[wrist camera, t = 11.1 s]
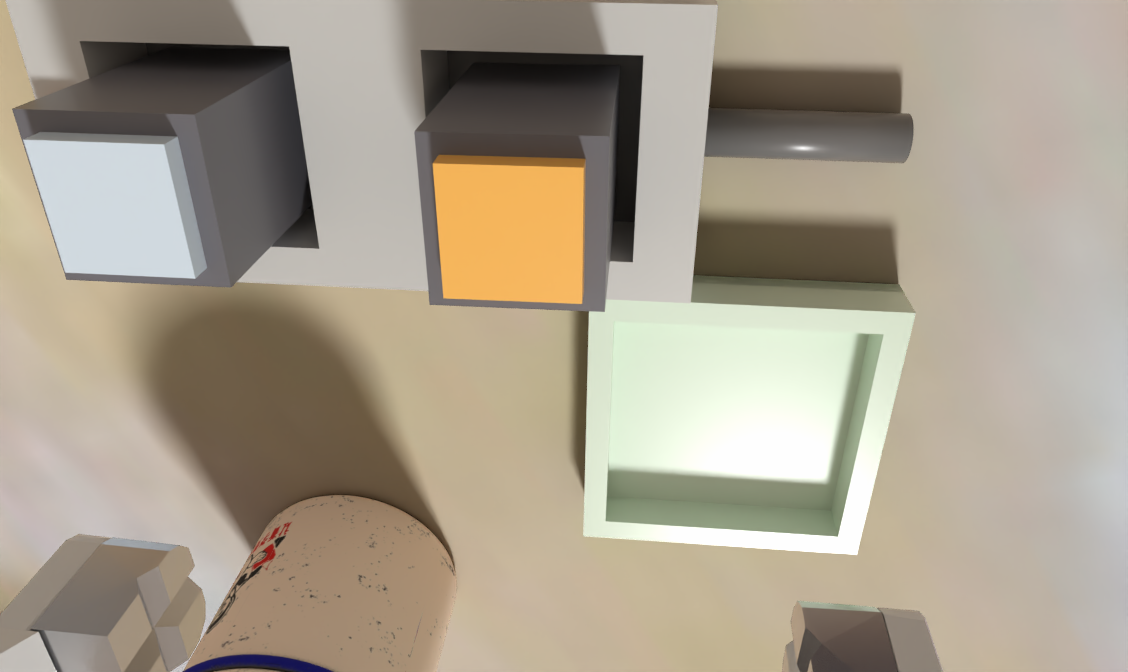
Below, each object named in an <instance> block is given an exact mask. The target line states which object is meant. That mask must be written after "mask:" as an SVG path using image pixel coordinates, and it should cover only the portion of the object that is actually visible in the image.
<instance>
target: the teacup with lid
mask: <svg viewBox="0 0 1128 672" xmlns="http://www.w3.org/2000/svg"><path fill="white" fill-rule="evenodd" d="M456 591H457V581H456V574H455V570H454V566H453V564H452V561H451V559H450V557H449V555H448V553H447V551H446V549H445V548H444V546H443V545H442V544H441V542H440V541H439V540H438V539H437V537H436V536H435V535H434V534H433V533H432V532H431V531H430V530H429V529H428V528H427V527H425V526H424V525H423V524H422V523H420V522H419V521H418V520H416V519H415V518H413V517H412V516H410V515H409V514H407V513H405V512H403V511H401V510H400V509H398V508H395V507H393V506H391V505H388V504H386V503H383V502H380V501H376V500H373V499H369V498H364V497H359V496H350V495H328V496H320V497H315V498H310V499H307V500H304V501H301V502H298V503H296V504H294V505H292V506H290V507H288V508H286V509H285V510H283V511H282V512H280V513H279V514H278V515H277V516H276V517H275V518H273V519H272V521H271V522H270V523H269V524H268V525H267V527H266V528H265V530H264V531H263V533H262V535H261V536H260V538H259V540H258V542H257V543H256V545H255V547H254V549H253V550H252V552H251V554H250V556H249V557H248V559H247V561H246V563H245V564H244V566H243V568H242V570H241V571H240V573H239V575H238V577H237V578H236V580H235V582H234V584H233V585H232V587H231V589H230V591H229V592H228V594H227V596H226V597H225V599H224V601H223V603H222V604H221V606H220V608H219V610H218V611H217V613H216V615H215V617H214V618H213V620H212V622H211V624H210V625H209V627H208V629H207V631H206V632H205V634H204V636H203V638H202V639H201V641H200V643H199V645H198V646H197V648H196V650H195V651H194V653H193V655H192V657H191V658H190V660H189V662H188V664H187V665H186V667H185V669H184V671H183V672H436V671H437V667H438V663H439V659H440V656H441V652H442V648H443V644H444V640H445V637H446V633H447V629H448V625H449V621H450V618H451V614H452V610H453V606H454V602H455V598H456Z"/></svg>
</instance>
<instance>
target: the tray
mask: <svg viewBox="0 0 1128 672" xmlns="http://www.w3.org/2000/svg"><path fill="white" fill-rule="evenodd" d="M915 314H916V313H915V311H914V309H913V308H912V306H911V304H910V302H909V301H908V299H907V297H906V296H905V294H904V292H903V290H902V289H901V287H900V285H899V284H881V283H859V282H836V281H813V280H791V279H768V278H746V277H723V276H701V275H693V282H692V293H691V303H673V302H652V301H631V300H609V299H606V305H605V312H594V311H589V329H588V370H587V411H586V452H585V493H584V534H583V536H588V537H603V538H617V539H632V540H647V541H662V542H676V543H691V544H706V545H721V546H735V547H750V548H765V549H780V550H794V551H809V552H824V553H839V554H853V555H857V552H858V548H859V544H860V540H861V536H862V531H863V527H864V523H865V519H866V515H867V511H868V507H869V503H870V499H871V495H872V490H873V486H874V482H875V478H876V474H877V470H878V466H879V462H880V458H881V454H882V449H883V445H884V441H885V437H886V433H887V429H888V425H889V421H890V417H891V412H892V408H893V404H894V400H895V396H896V392H897V388H898V384H899V380H900V376H901V371H902V367H903V363H904V359H905V355H906V351H907V347H908V343H909V339H910V335H911V330H912V326H913V322H914V318H915Z"/></svg>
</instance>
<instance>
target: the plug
mask: <svg viewBox="0 0 1128 672" xmlns="http://www.w3.org/2000/svg"><path fill="white" fill-rule="evenodd" d="M619 78H620V65H571V64H518V63H473V64H472V65H471V66H470V67H469V69H468V70H467V71H466V72H465V73H464V74H463V75H462V77H461V78H460V79H459V80H458V81H457V82H456V84H455V85H454V86H453V87H452V88H451V89H450V91H449V92H448V93H447V94H446V95H445V96H444V97H443V99H442V100H441V101H440V102H439V103H438V104H437V106H436V107H435V108H434V109H433V110H432V111H431V113H430V114H429V115H428V116H427V117H426V118H425V119H424V121H423V122H422V123H421V124H420V125H419V126H418V128H417V129H416V130H415V131H414V135H415V146H416V157H417V168H418V179H419V191H420V202H421V213H422V224H423V235H424V246H425V257H426V268H427V280H428V291H429V302H430V305H449V306H473V307H497V308H521V309H545V310H570V311H594V312H605V305H606V295H607V285H608V275H609V265H610V255H611V245H612V235H613V225H614V215H615V204H616V173H617V141H618V110H619Z"/></svg>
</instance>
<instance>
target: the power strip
mask: <svg viewBox="0 0 1128 672" xmlns="http://www.w3.org/2000/svg"><path fill="white" fill-rule="evenodd" d="M6 4H7V7H8V10H9V14H10V17H11V20H12V24H13V27H14V30H15V33H16V37H17V40H18V43H19V47H20V50H21V53H22V57H23V60H24V63H25V66H26V70H27V73H28V76H29V80H30V83H31V86H32V89H33V93H34V96H35V99H38V98H41V97H43V96H46V95H49V94H51V93H54V92H56V91H59V90H61V89H64V88H66V87H69V86H71V85H74V84H77V83H79V82H82V81H84V80H87V79H89V78H92V77H94V76H97V75H99V74H102V73H105V72H107V71H110V70H112V69H115V68H117V67H120V66H122V65H125V64H127V63H130V62H133V61H135V60H138V59H140V58H143V57H145V56H148V55H150V54H153V53H155V52H158V51H161V50H163V49H166V48H168V47H180V48H219V49H258V50H290V56H291V62H292V69H293V76H294V82H295V89H296V96H297V102H298V109H299V116H300V122H301V129H302V136H303V142H304V149H305V156H306V162H307V169H308V176H309V182H310V189H311V196H312V202H313V204H312V205H311V206H310V207H309V208H308V209H307V210H306V211H305V212H304V213H303V214H302V215H301V216H300V217H299V218H298V219H297V220H296V221H295V223H294V224H293V225H292V226H291V227H290V228H289V229H288V230H287V231H286V232H285V233H284V234H283V235H282V236H281V237H280V238H279V239H278V240H277V241H276V242H275V243H274V244H273V245H272V246H271V247H270V248H269V249H268V250H267V251H266V252H265V253H264V254H263V255H262V256H261V257H260V258H259V259H258V260H257V261H256V262H255V263H254V265H253V266H252V267H251V268H250V269H249V270H248V271H247V272H246V273H245V274H244V275H243V276H242V277H241V278H240V279H239V280H238V281H237V282H246V283H268V284H289V285H310V286H332V287H353V288H375V289H396V290H417V291H428V280H427V268H426V257H425V246H424V235H423V224H422V213H421V202H420V191H419V179H418V168H417V157H416V146H415V135H414V131H415V130H416V129H417V128H418V126H419V125H420V124H421V123H422V122H423V121H424V119H425V118H426V117H427V116H428V115H429V114H430V113H431V111H432V110H433V109H434V108H435V107H436V106H437V104H438V103H439V102H440V101H441V100H442V99H443V97H444V96H445V95H446V94H447V93H448V92H449V91H450V89H451V88H452V87H453V86H454V85H455V84H456V82H457V81H458V80H459V79H460V78H461V77H462V75H463V74H464V73H465V72H466V71H467V70H468V69H469V67H470V66H471V65H472V64H473V63H518V64H571V65H620V78H619V110H618V141H617V173H616V204H615V215H614V225H613V235H612V245H611V255H610V265H609V275H608V285H607V295H606V299H609V300H631V301H652V302H673V303H691V293H692V282H693V271H694V261H695V250H696V239H697V228H698V217H699V206H700V195H701V185H702V174H703V163H704V156H706V157H735V158H765V159H794V160H824V161H853V162H882V163H904V162H905V161H906V160H907V158H908V156H909V153H910V150H911V146H912V141H913V120H912V117H911V115H910V114H902V113H868V112H835V111H801V110H767V109H734V108H709V98H710V87H711V76H712V65H713V54H714V43H715V32H716V22H717V11H718V4H717V2H716V0H6Z"/></svg>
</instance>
